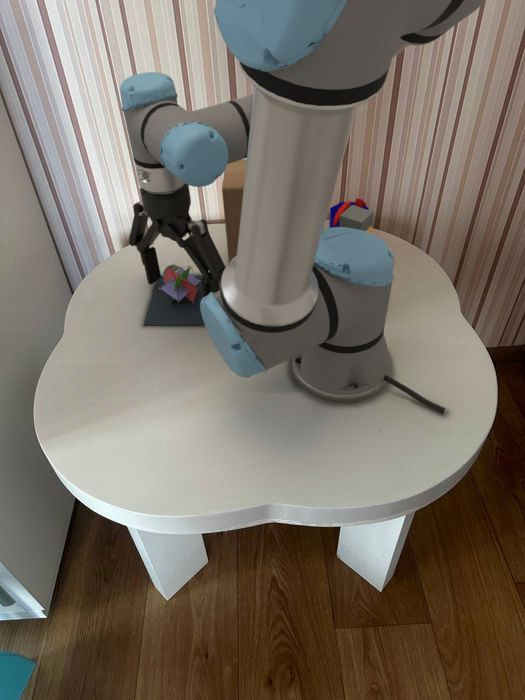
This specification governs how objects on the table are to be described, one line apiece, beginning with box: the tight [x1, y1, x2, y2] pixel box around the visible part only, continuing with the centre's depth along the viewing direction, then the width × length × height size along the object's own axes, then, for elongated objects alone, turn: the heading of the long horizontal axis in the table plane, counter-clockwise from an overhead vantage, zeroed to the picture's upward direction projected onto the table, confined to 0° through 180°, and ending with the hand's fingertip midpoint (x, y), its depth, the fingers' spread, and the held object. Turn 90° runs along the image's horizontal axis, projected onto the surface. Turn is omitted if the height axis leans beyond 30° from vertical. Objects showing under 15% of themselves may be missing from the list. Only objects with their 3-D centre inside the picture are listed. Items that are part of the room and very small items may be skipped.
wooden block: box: [221, 158, 247, 263], centre depth 101 cm, size 10×10×20 cm
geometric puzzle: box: [159, 263, 201, 303], centre depth 100 cm, size 7×7×8 cm
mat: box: [143, 275, 206, 327], centre depth 102 cm, size 14×12×1 cm
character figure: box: [339, 205, 374, 234], centre depth 94 cm, size 8×10×18 cm
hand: (182, 293), depth 101 cm, fingers open, 13 cm apart
